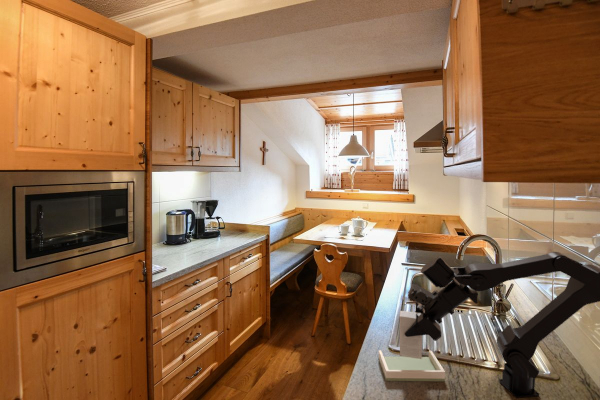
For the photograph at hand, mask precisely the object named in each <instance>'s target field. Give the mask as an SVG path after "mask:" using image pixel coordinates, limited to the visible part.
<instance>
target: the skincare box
mask: <svg viewBox="0 0 600 400" xmlns="http://www.w3.org/2000/svg"><path fill="white" fill-rule="evenodd" d="M416 314H417V315H418V316H419V315H421V313H417V312H415V311H406V310H400V311H399V357H410V358H417V359H422V357H423V335H419V336H412V337H406V336H405V332H406V331H407V330H408V329H409V328H410V327H411V326H412V325H413V324H414V322H415V321H416Z"/></svg>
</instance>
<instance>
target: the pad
mask: <svg viewBox="0 0 600 400" xmlns="http://www.w3.org/2000/svg"><path fill="white" fill-rule="evenodd" d="M378 360H379V365H380V366H381V370H382V372H383V376H384V379H385V381H386V382H387V381H388V382H446V371H445V369H444V368H443V366H442V365H441V363H440V362H439V360H438V359H437V357H436V355H435V353H434V352H433V351H432V350H428V356H422V359H417V358H410V357H404V356H384V354H383V350H378Z"/></svg>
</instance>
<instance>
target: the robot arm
mask: <svg viewBox="0 0 600 400" xmlns="http://www.w3.org/2000/svg"><path fill="white" fill-rule="evenodd" d="M420 272H421V274H422V275H423V276H424V277H425V278H426V279H427V280H428V281H429V282H430V283H431V284H432V285H433V286H434V287H435V288H439V289H440V290H439V291H438V290H434V291H432V292H430V291H429V290H427V289H426V288H425V287H421V286H420V285H418V284H416V283H412V284H411V287H410V288H409V290H408V292H407V294H408V295H407V298H408V299H409V300H410V301H414V302H415V304H414V305H415V306H414V307H415V310H414V312H417V313H421V315H419V316H418V315H417V314H416V321H415V322H414V324H413V325H412V326H411V327H410V328H409V329H408V330H407V331H406V332H405V336H406V337H412V336H419V335H422V336H429V337H430V338H431V339H432V340H433V341H434V342H437V341H438V340H440V339H441V338H442V329H441V325H440V324H441V323H443V320H442V319H443V318H444V317H445V318H446V316H447V315H449V314H450V315H451V316H453V314H455V312H454V311H455V309H457V308H458V307H459V306H461V305H462V304H464V303H465V302H466V301H468V300H469V299H470V300H471V301H472V302H473V304H475V305H476V304H478V303H479V302H478V297H479V296H478V295H479V293H478V292H485V291H488V290H490V289H493V288H496V287H497V286H500V285H501V284H503V283H506V282H508V281H512V280H519V279H525V278H530V277H536V276H541V275H546V274H552V273H558V272H561V273H563V274H565V275H567V276H568V277H569V280H568V281H567V284H566V287H565V289H564V290H563V291H561V292H560V293H559V294H558V295H557V296H556V297H554V298H553V300H551V301H550V302H549V303H547V304H546V305H545V306H544V307H542V309H540V310H539V311H538V312H537V313H536V314H534V316H532V317H531V318H530V319H528V321H527V322H525V323H524V324H523V325H521V326H519V327H515V328H514V327H513V326H512V325H511V324H508V325H506V327H505V328H504V329H503V330H502V331H500V332H499V331H498V332H497V335H498V336H497V338H496V346H497V349H498V350H499V352H500V355H501V358H502V359H503V361H504V362H505V363H504V364H503V369H502V377H501V378H499V380H498V382H499V383H500V384H501V385H502V387H504V388H506V389H507V390H508V391H509V392H510V393H511V395H513V397H515V398H530V397H531V398H532V397H533V398H534V397H540V393H539V392H538V391H537V390H535V389H536V388H535V386H536V378H537V377H538V375H539V373H540V370H539V368H538V367H537V365H536V364H535V362H534V361H533V359H532V358H533V357H534V355H535V353H536V351H537V348H538V346H539V343H540V342H542V340H544V339H546V337H548V336H549V335H550V334H552V333H553V332H554V331H555V330H556V329H558V328H559V327H560V326H562V325H563V324H564V323H565V322H567V321H568V320H569V319H570V318H571V317H572V316H573V315H575V314H576V313H577V312H578V311H580V310H582V308H583V307H585V306H587V305H590V304H595V303H599V302H600V267H599V266H597V265H594V264H583V263H582V262H579V261H577V260H575V259H573V258H570V257H568V256H566V255H565V254H563V253H561V252H559V251H551V252H549V253H546V254H541V255H535V256H531V257H526V258H521V259H516V260H510V261H507V262H501V263H491V262H490V263H489V262H480V263H479V262H478V263H477V262H476V263H470V264H468V265H466V266H458V267H457V266H455V267H451V266H450V265H449V264H448V263H447V262H446V261H445V260H444V258H443V257H442V256H441V255H439V256H437V257H436V258H432V259H431V260H429V261H428V262H426V263H425V264H424V265H423V266H422V268H421V270H420Z"/></svg>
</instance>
